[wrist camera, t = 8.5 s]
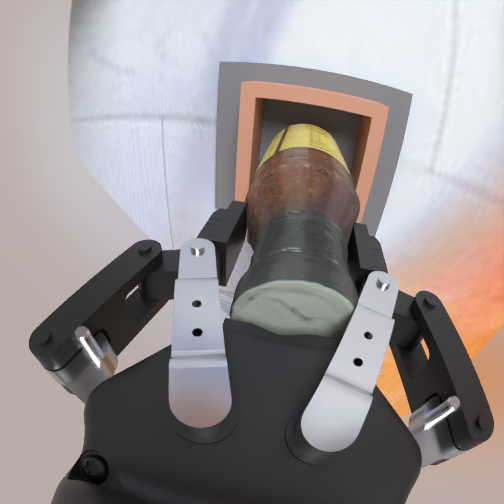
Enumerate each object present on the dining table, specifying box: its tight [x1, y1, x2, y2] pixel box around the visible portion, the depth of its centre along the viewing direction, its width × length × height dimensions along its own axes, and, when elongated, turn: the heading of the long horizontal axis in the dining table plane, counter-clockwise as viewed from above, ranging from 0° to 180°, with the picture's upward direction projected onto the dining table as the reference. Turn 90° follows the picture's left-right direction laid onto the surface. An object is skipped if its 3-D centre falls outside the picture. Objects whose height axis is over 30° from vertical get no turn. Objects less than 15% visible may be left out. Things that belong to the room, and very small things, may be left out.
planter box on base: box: [215, 62, 412, 236], centre depth 24 cm, size 18×16×6 cm
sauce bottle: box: [230, 123, 360, 347], centre depth 16 cm, size 7×6×20 cm
